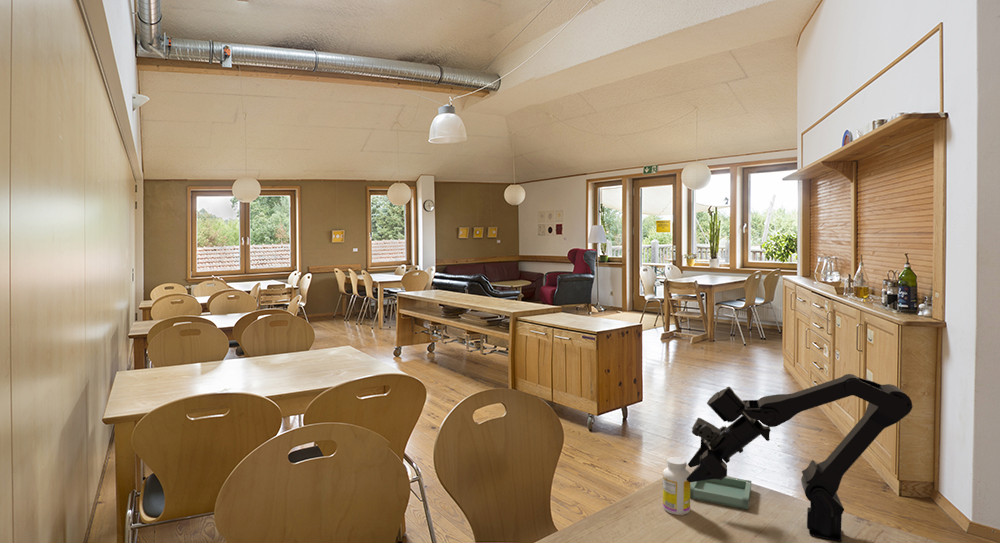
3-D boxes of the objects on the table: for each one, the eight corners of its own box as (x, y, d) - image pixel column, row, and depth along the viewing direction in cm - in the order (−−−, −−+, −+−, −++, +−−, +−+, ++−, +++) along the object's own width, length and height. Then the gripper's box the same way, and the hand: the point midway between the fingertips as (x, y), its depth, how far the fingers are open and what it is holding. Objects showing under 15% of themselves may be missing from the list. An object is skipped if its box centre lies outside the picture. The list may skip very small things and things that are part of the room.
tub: (751, 489, 156) (751, 480, 156) (747, 509, 145) (748, 500, 145) (695, 479, 162) (696, 471, 162) (688, 498, 151) (688, 488, 151)
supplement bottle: (686, 503, 148) (687, 455, 147) (692, 516, 142) (693, 466, 141) (660, 502, 149) (661, 454, 148) (665, 515, 142) (665, 465, 141)
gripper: (712, 399, 149) (667, 435, 154) (713, 422, 132) (662, 462, 136) (744, 432, 147) (698, 468, 152) (749, 460, 130) (696, 499, 134)
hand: (688, 473), depth 143 cm, fingers open, 9 cm apart
